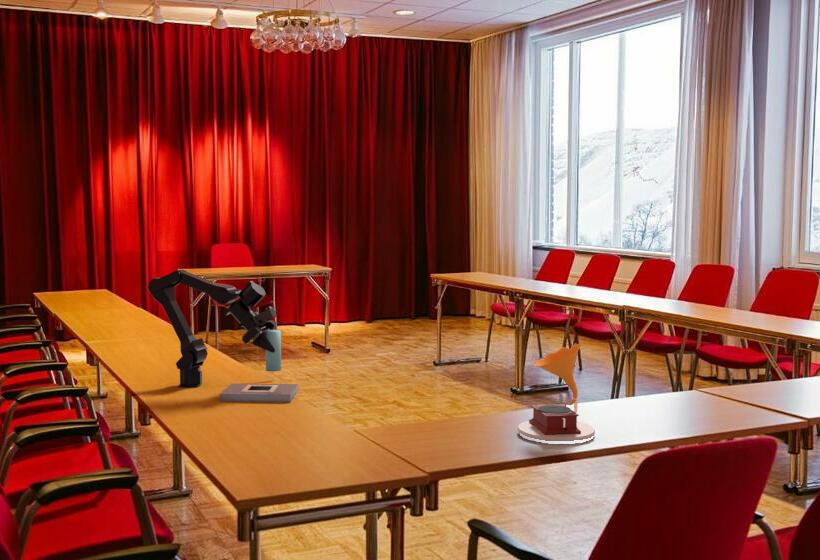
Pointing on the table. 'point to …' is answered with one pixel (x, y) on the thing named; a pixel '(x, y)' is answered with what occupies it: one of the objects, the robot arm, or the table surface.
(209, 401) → the table surface
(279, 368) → the teal peg
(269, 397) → the flange plate
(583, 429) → the gramophone
